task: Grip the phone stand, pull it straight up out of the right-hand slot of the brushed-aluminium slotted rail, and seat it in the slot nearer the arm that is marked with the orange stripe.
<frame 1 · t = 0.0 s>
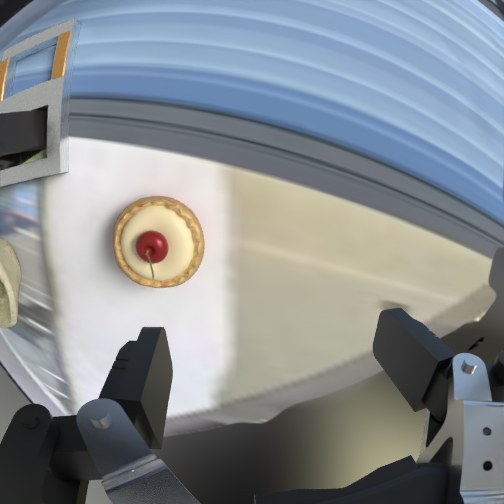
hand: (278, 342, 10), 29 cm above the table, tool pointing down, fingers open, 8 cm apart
bowl: (6, 263, 35), on the table
pastry: (163, 236, 38), on the table
phone stand: (30, 139, 30), resting in slotted rail
slotted rail: (32, 103, 28), on the table
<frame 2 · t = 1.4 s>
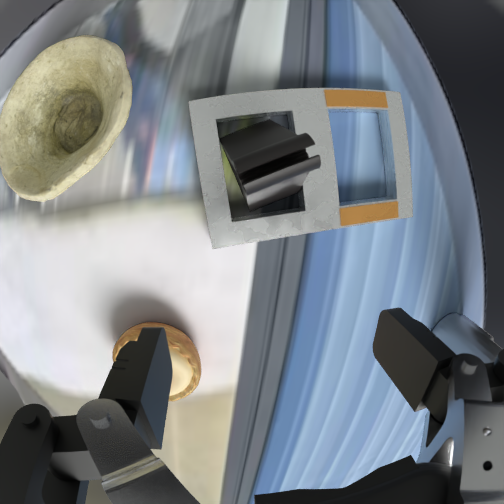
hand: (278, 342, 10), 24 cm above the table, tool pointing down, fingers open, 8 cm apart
bowl: (83, 121, 27), on the table
pastry: (160, 350, 37), on the table
phone stand: (258, 165, 31), resting in slotted rail
slotted rail: (310, 159, 31), on the table
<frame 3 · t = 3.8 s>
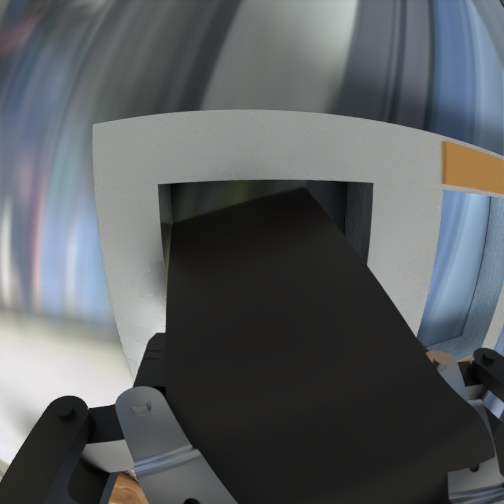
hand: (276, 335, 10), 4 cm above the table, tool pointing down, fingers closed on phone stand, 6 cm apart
pastry: (99, 475, 19), on the table
phone stand: (262, 291, 14), resting in slotted rail, touching gripper
slotted rail: (372, 284, 14), on the table
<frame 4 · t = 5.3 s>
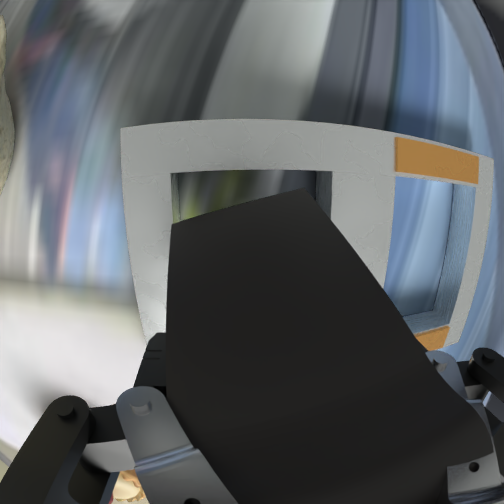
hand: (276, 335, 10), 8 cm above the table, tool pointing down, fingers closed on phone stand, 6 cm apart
pastry: (103, 447, 22), on the table
phone stand: (260, 291, 14), point 4 cm above the table, touching gripper
slotted rail: (341, 256, 18), on the table
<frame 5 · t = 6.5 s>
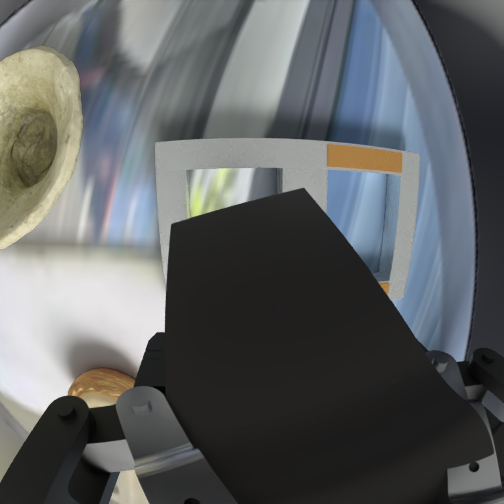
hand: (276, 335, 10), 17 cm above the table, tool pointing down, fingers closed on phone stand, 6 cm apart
bowl: (43, 145, 21), on the table
pastry: (117, 392, 31), on the table
phone stand: (260, 291, 14), point 13 cm above the table, touching gripper
slotted rail: (296, 225, 27), on the table
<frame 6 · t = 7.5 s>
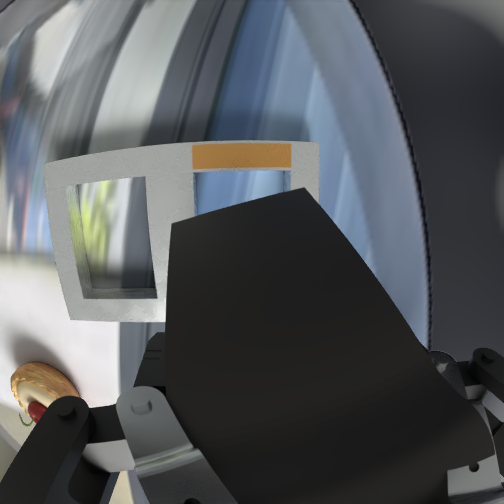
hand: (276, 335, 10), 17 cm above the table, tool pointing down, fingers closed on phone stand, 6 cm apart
pastry: (54, 386, 30), on the table
phone stand: (261, 291, 14), point 13 cm above the table, touching gripper
slotted rail: (177, 232, 26), on the table
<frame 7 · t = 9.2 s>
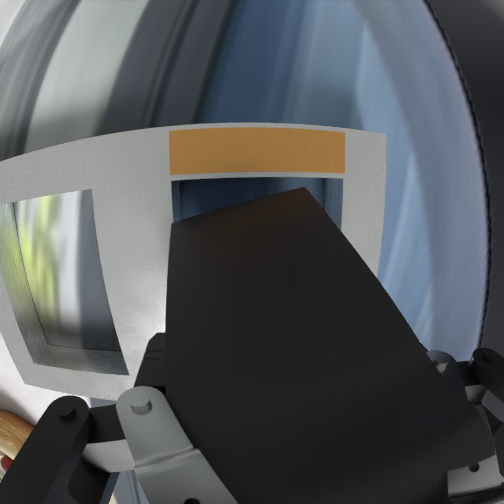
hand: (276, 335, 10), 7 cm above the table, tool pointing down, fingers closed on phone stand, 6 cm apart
pastry: (29, 435, 20), on the table
phone stand: (261, 290, 14), point 3 cm above the table, touching gripper
slotted rail: (152, 276, 16), on the table
when the fingers open (5 cm above the table, at t = 10.2 s): phone stand drops 1 cm, resting in slotted rail.
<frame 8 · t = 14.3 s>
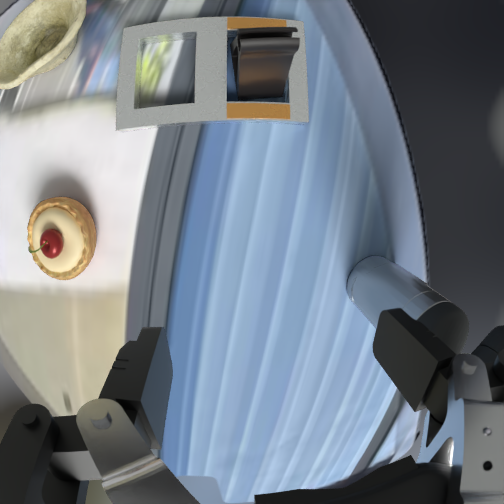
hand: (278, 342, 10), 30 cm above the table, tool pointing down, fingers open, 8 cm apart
bowl: (56, 47, 27), on the table
pastry: (70, 232, 37), on the table
phone stand: (255, 70, 33), resting in slotted rail
slotted rail: (211, 70, 32), on the table
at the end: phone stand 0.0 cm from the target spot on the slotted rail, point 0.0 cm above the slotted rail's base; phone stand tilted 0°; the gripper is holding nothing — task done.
